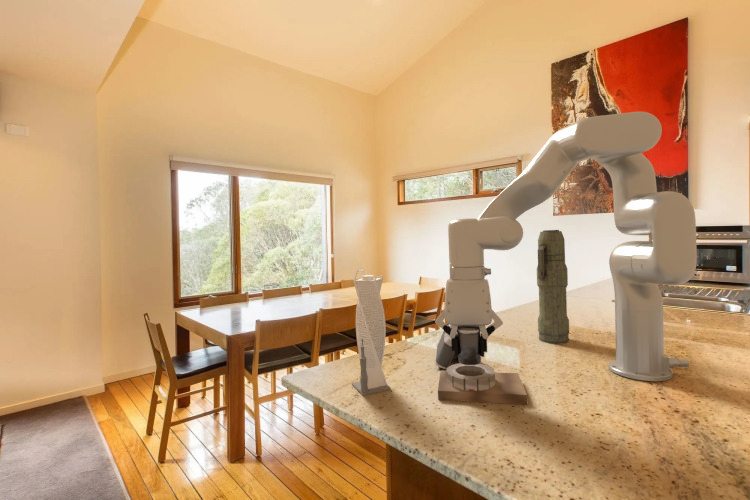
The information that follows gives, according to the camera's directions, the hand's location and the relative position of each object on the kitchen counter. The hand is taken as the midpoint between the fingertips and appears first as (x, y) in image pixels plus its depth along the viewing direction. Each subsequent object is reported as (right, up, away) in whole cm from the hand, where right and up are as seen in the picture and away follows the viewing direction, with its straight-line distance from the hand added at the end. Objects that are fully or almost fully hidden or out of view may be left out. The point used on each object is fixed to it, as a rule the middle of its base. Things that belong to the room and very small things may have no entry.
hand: (469, 353), depth 85 cm
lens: (0, -2, 0) cm, 2 cm away
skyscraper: (-22, -9, +5) cm, 24 cm away
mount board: (+2, -8, 0) cm, 9 cm away
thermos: (+36, -6, +35) cm, 51 cm away
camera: (+1, -8, +20) cm, 22 cm away
